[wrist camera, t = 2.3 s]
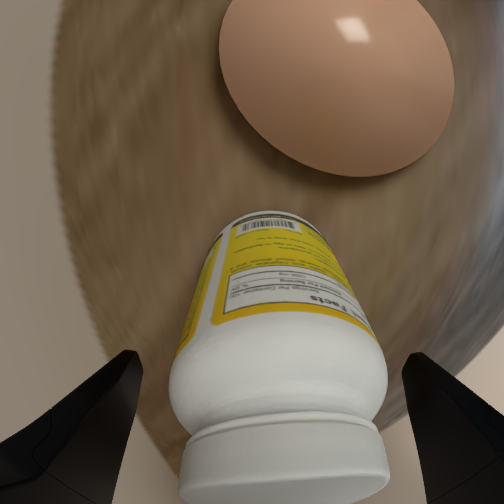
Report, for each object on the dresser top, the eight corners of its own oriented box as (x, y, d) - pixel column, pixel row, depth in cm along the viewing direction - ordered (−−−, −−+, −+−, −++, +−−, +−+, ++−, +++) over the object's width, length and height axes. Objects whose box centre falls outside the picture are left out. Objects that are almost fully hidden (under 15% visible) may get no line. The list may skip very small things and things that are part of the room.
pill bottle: (258, 332, 16) (256, 525, 6) (182, 256, 14) (90, 472, 4) (351, 275, 14) (438, 475, 4) (283, 179, 12) (376, 416, 2)
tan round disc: (474, 109, 10) (483, 110, 9) (323, 219, 13) (327, 224, 12) (352, -55, 6) (356, -62, 5) (171, 39, 9) (166, 34, 9)
